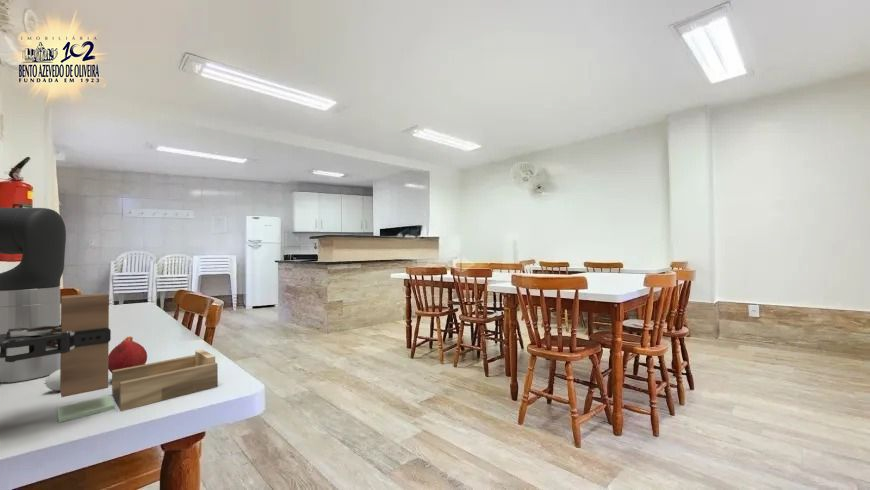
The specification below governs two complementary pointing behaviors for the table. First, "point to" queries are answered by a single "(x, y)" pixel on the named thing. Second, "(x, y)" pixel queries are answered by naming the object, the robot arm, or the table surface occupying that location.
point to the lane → (164, 380)
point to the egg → (53, 381)
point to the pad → (84, 408)
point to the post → (84, 363)
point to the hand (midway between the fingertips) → (107, 332)
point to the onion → (126, 355)
